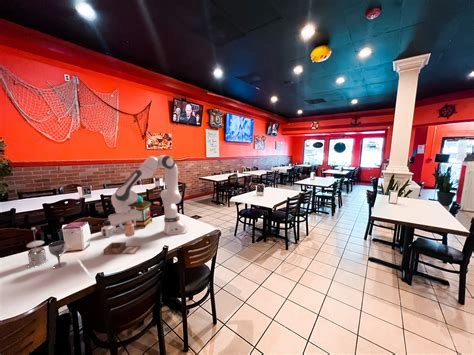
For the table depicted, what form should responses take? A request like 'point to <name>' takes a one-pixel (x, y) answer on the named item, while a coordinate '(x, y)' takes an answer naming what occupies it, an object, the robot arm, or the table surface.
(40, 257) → the french press
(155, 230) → the table surface
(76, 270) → the table surface
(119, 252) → the caddy
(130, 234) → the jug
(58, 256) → the wine glass
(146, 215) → the decorative lantern
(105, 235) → the container
